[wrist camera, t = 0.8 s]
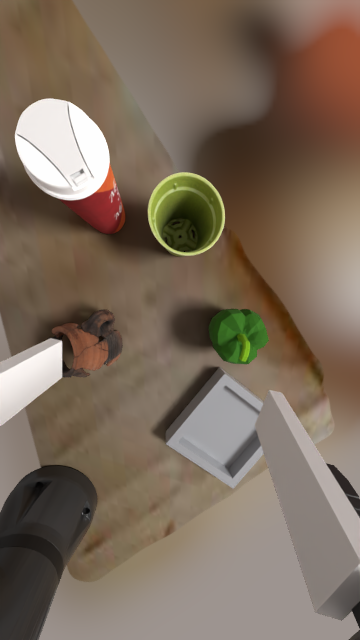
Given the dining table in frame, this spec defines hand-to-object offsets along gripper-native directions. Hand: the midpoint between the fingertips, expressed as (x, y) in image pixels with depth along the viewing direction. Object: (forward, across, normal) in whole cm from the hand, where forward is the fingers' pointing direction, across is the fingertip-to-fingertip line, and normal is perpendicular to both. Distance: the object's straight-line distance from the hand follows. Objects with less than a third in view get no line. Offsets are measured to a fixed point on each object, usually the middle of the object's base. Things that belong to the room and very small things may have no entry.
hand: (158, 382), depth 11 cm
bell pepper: (+23, -7, +3) cm, 24 cm away
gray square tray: (+20, -12, +20) cm, 31 cm away
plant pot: (+24, +4, -11) cm, 26 cm away
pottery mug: (+18, +14, +8) cm, 24 cm away
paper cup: (+22, +16, -12) cm, 29 cm away
